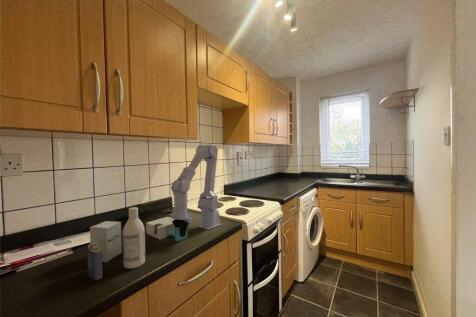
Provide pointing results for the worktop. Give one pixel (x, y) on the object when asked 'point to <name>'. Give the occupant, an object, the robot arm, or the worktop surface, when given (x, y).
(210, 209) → the robot arm
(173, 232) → the cartridge
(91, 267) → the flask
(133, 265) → the bath foam
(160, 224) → the plunger
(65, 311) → the worktop surface
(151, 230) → the housing
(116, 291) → the worktop surface
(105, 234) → the supplement box
